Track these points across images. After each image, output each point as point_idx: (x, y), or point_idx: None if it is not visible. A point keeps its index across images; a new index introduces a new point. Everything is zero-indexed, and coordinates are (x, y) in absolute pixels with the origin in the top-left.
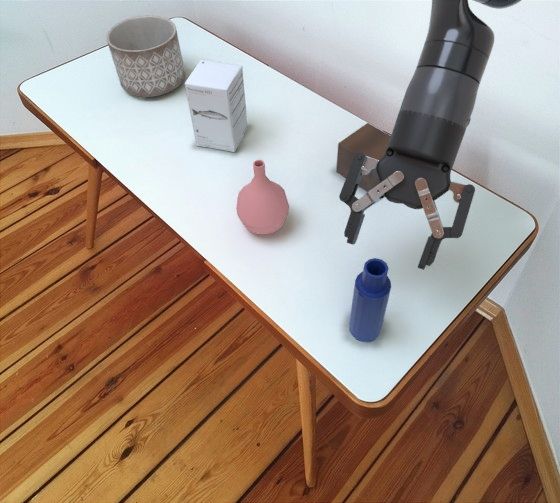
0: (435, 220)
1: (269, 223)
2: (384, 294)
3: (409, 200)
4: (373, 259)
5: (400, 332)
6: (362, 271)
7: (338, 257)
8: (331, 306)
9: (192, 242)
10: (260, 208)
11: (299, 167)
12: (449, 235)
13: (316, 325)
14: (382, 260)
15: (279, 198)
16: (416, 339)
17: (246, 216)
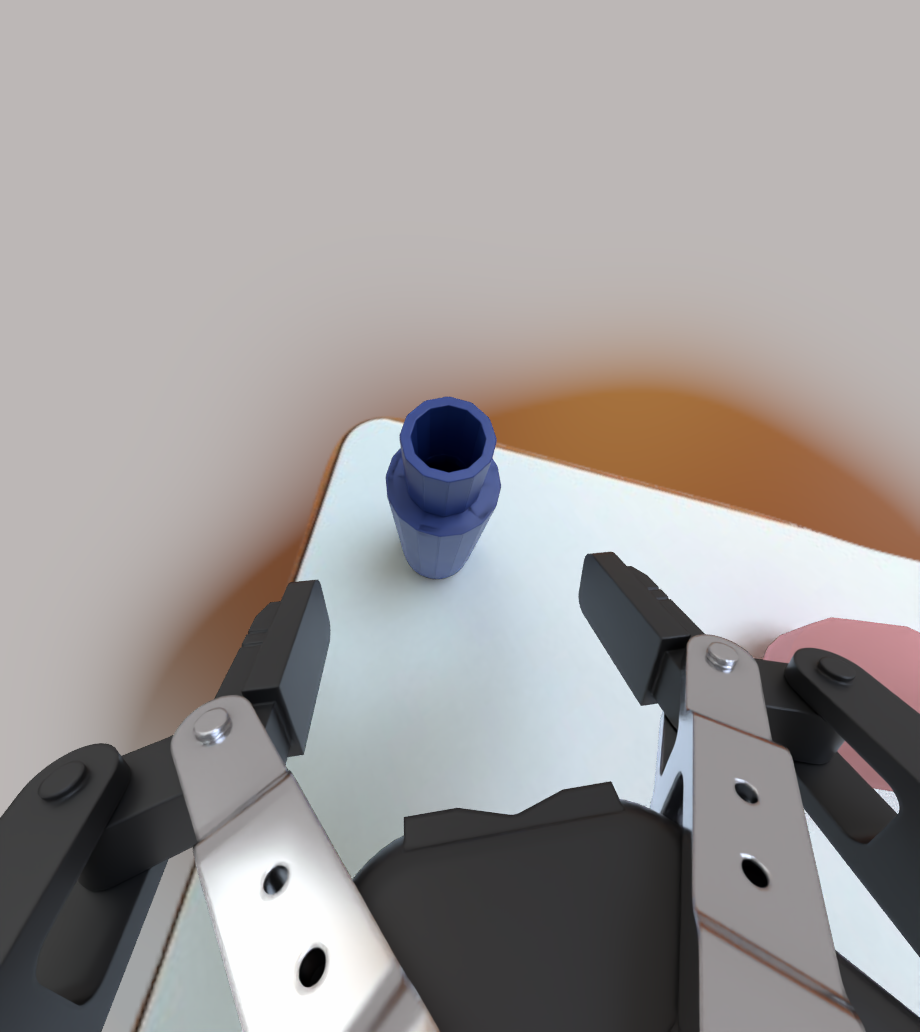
0: (227, 799)
1: (805, 646)
2: (395, 460)
3: (475, 869)
4: (476, 468)
5: (366, 575)
6: (495, 506)
7: (585, 694)
8: (522, 558)
9: (854, 548)
10: (884, 647)
11: (908, 992)
12: (144, 760)
13: (522, 504)
14: (442, 478)
15: None
16: (328, 577)
17: (871, 622)
